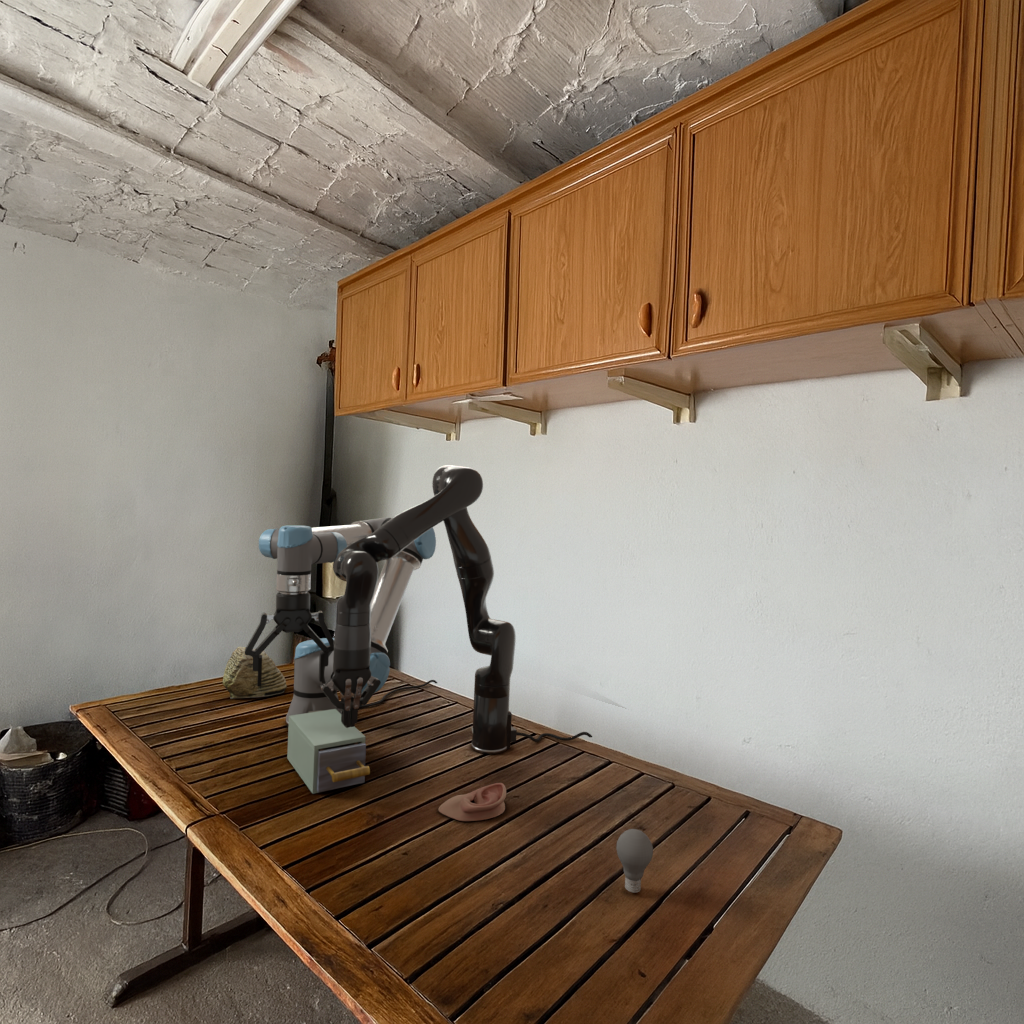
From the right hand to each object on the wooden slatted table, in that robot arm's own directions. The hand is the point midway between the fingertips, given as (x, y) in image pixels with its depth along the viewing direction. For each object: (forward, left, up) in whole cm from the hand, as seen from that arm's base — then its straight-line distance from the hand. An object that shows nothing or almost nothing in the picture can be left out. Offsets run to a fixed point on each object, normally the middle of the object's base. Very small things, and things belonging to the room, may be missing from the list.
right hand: (349, 726), depth 134 cm
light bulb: (-38, +49, -15) cm, 64 cm away
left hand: (+10, -20, +4) cm, 23 cm away
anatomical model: (-23, +14, -15) cm, 31 cm away
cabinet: (+2, -15, -15) cm, 22 cm away
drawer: (+2, -10, -14) cm, 17 cm away
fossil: (+14, -77, -15) cm, 80 cm away
